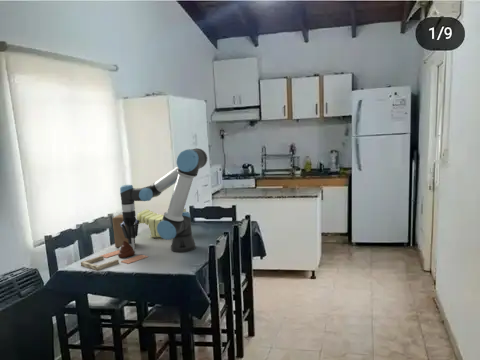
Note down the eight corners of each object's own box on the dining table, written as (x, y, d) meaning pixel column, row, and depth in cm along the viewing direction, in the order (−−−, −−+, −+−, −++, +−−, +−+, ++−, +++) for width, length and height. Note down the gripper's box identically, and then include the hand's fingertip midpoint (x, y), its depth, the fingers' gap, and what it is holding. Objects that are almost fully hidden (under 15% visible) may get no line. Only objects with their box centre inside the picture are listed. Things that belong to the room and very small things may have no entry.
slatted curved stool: (138, 238, 288) (136, 213, 286) (149, 232, 304) (147, 208, 302) (178, 238, 281) (176, 213, 279) (187, 232, 296) (185, 208, 294)
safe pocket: (118, 263, 235) (118, 259, 235) (97, 270, 225) (97, 266, 224) (102, 258, 246) (101, 255, 246) (81, 265, 235) (80, 262, 235)
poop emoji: (122, 259, 242) (120, 243, 241) (115, 256, 248) (114, 241, 247) (137, 254, 249) (136, 239, 248) (130, 252, 255) (129, 237, 254)
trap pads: (148, 256, 243) (148, 256, 243) (128, 263, 233) (128, 263, 232) (119, 250, 262) (119, 249, 262) (99, 256, 251) (99, 255, 251)
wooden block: (128, 247, 267) (125, 217, 264) (114, 247, 269) (111, 217, 266) (135, 243, 277) (132, 213, 274) (122, 243, 279) (119, 214, 276)
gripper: (134, 208, 257) (137, 245, 259) (115, 212, 247) (119, 250, 250) (141, 209, 252) (144, 246, 255) (123, 213, 242) (126, 252, 245)
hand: (132, 248), depth 252 cm, fingers closed
